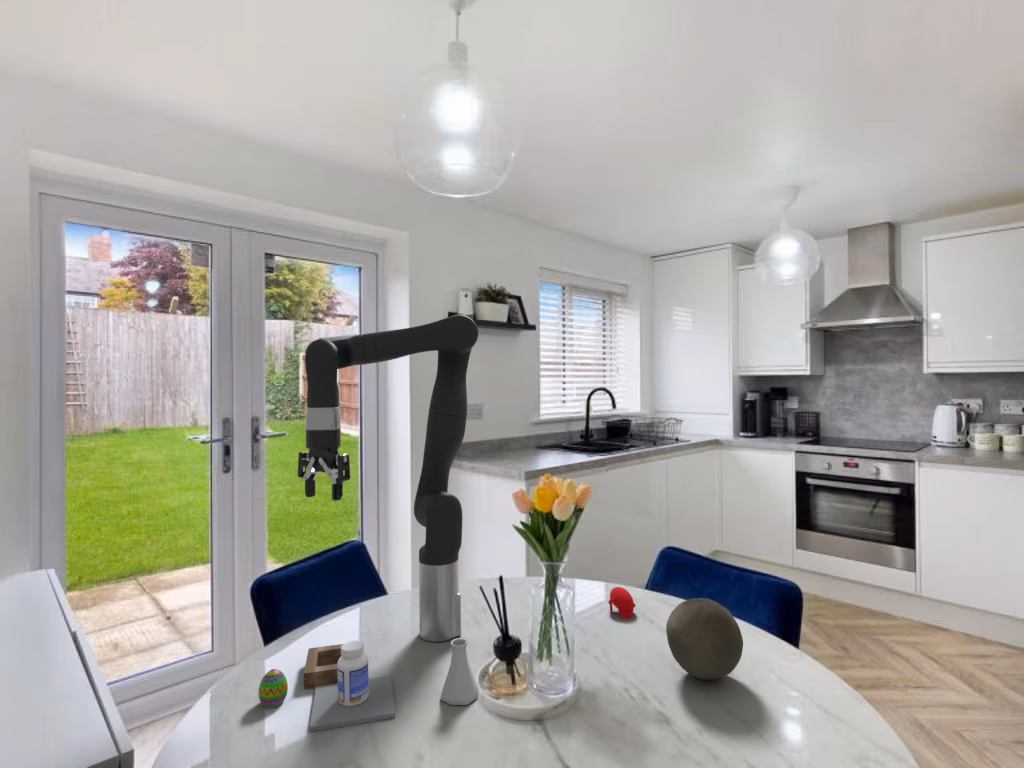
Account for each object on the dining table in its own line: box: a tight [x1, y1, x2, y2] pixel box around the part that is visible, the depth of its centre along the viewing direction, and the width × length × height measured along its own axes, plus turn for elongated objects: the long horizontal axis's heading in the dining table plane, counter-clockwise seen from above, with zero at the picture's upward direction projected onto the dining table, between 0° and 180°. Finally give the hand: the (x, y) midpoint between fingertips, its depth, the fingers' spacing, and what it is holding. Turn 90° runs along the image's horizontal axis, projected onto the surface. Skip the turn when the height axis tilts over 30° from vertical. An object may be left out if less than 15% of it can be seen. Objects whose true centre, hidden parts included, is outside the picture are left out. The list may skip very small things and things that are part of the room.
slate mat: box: [309, 674, 396, 733], centre depth 99 cm, size 14×13×1 cm
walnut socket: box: [303, 643, 344, 690], centre depth 110 cm, size 11×11×3 cm
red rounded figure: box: [608, 586, 636, 620], centre depth 137 cm, size 8×6×6 cm
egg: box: [258, 668, 289, 709], centre depth 99 cm, size 5×5×6 cm
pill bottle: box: [336, 640, 369, 706], centre depth 99 cm, size 5×5×10 cm
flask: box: [439, 637, 479, 706], centre depth 101 cm, size 7×7×10 cm
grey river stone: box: [665, 597, 744, 681], centre depth 106 cm, size 14×14×15 cm
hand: (323, 498), depth 123 cm, fingers open, 8 cm apart
